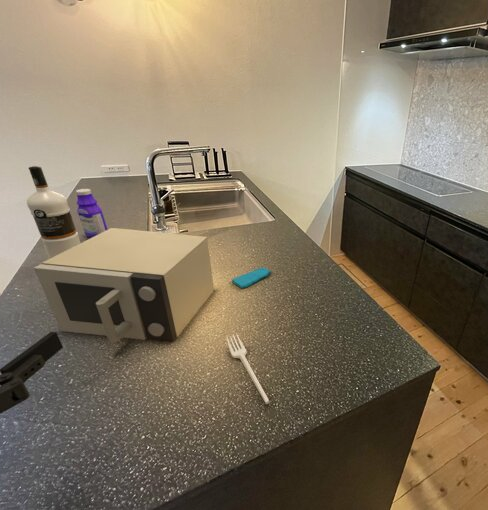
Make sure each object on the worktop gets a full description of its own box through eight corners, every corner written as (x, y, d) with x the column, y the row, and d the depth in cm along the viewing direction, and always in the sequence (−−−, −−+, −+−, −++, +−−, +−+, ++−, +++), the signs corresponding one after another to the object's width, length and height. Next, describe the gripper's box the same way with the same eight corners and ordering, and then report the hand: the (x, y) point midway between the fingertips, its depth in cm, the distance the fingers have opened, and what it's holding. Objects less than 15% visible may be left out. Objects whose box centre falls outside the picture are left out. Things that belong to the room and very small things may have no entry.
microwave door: (129, 357, 64) (108, 291, 57) (39, 347, 65) (6, 281, 57) (149, 335, 71) (132, 273, 63) (66, 326, 71) (40, 264, 63)
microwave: (171, 345, 69) (156, 280, 61) (59, 333, 69) (30, 268, 62) (214, 290, 89) (207, 236, 81) (126, 281, 89) (111, 227, 82)
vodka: (96, 259, 99) (66, 164, 85) (72, 273, 91) (34, 171, 77) (69, 256, 99) (34, 162, 86) (42, 270, 91) (-1, 168, 77)
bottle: (81, 237, 112) (66, 190, 104) (95, 231, 117) (81, 187, 109) (99, 240, 111) (85, 193, 103) (112, 234, 116) (99, 189, 108)
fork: (259, 409, 56) (259, 402, 55) (225, 343, 70) (224, 337, 69) (276, 401, 58) (276, 394, 57) (239, 338, 72) (238, 332, 71)
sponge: (274, 273, 97) (264, 265, 101) (241, 287, 89) (230, 277, 92) (274, 277, 98) (264, 269, 101) (241, 291, 90) (230, 281, 93)
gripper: (-398, 534, 24) (-66, 346, 43) (-98, 571, 24) (105, 364, 43) (-508, 482, 21) (-96, 302, 40) (-162, 524, 20) (89, 321, 39)
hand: (8, 334), depth 41 cm, fingers open, 13 cm apart
